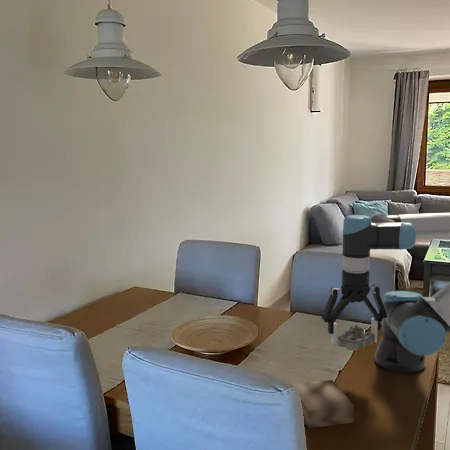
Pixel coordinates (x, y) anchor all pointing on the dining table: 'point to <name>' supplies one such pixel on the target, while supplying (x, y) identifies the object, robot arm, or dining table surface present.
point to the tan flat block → (324, 404)
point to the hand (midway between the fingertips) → (353, 342)
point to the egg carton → (354, 338)
